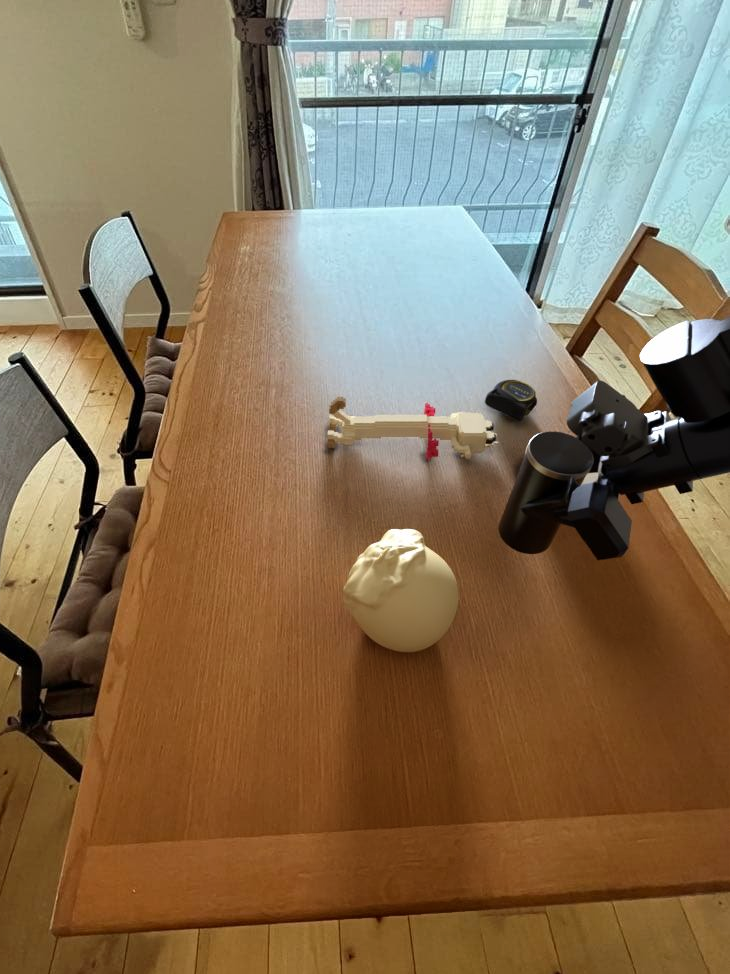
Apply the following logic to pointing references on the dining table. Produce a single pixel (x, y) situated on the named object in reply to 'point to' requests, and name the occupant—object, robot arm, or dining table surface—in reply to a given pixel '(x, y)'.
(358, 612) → the sculpture
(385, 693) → the dining table surface
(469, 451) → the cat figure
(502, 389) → the tape measure
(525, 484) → the tube
